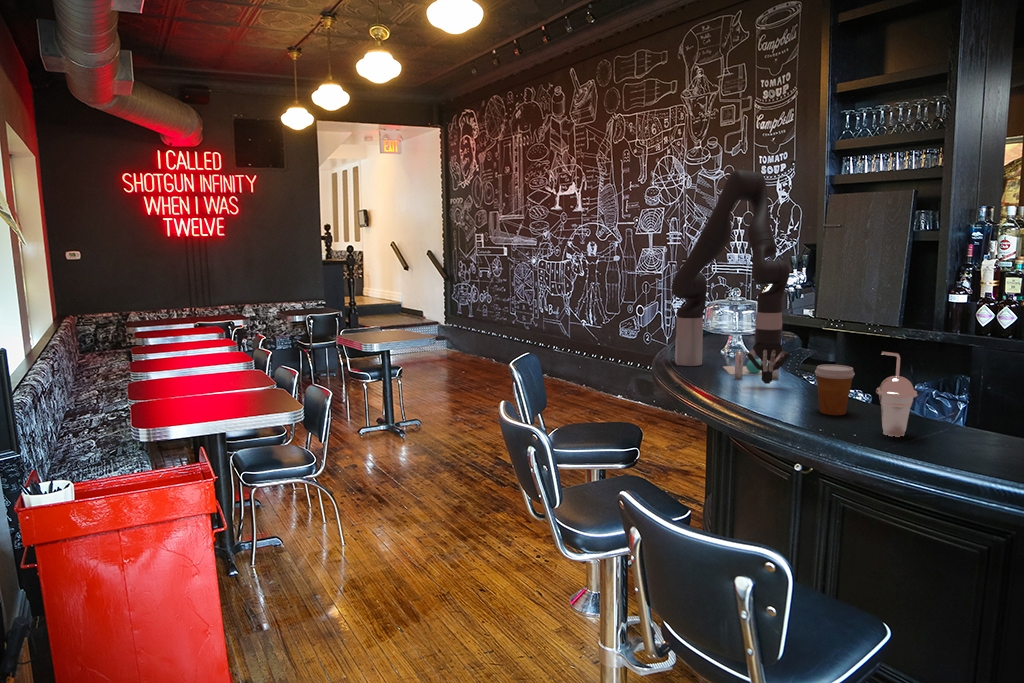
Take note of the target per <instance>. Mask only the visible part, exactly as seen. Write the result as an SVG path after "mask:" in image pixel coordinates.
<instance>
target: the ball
mask: <svg viewBox="0 0 1024 683" xmlns="http://www.w3.org/2000/svg"><path fill="white" fill-rule="evenodd" d="M755 360H756V361H757V362H758V364H759V365H761V360H760V359H757V358H755ZM745 366H746V367H747V370H748V371H749V372H750V373H754V374H755V373H759V372H760V371H761V370H758V369H757V368H756V367H755V366H754V365H753V363H752V362H751V361H750V360H749V359H748V361H747V362H746V365H745Z"/></svg>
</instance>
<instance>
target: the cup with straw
mask: <svg viewBox="0 0 1024 683" xmlns="http://www.w3.org/2000/svg"><path fill="white" fill-rule="evenodd" d="M879 354H880V355H885V356H889V357H890V356H891V357H893V356H894V357H896V367H895V375H891V376H888V377H886V378H885V379H884V380H883V381H882V382H881V384H880V386H879V387H877V388H876V390H875V393H876V394H877V395H878V396H879V403H880V408H881V409H880V410H881V412H880V413H881V425H882V426H881V427H882V430H883V432H882V434H883V435H885V436H887V435H888V437H893V436H895V438H901V437H900V436H903V437H905V436H906V435H905V432H906V430H907V427H908V421H909V417H910V416H909V415H910V412H911V411H910V410H911V407H912V405H913V402H914V398H916V397H918V391H917V390H916V389H914V386H913V383H912V382H911V381H910V380H909V379H907V378H905V377H904V376H900V371H901V370H900V369H901V356H900V354H899V353H898V352H889V351H881V350H880V351H879ZM904 435H905V436H904Z"/></svg>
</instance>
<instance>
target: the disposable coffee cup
mask: <svg viewBox="0 0 1024 683" xmlns="http://www.w3.org/2000/svg"><path fill="white" fill-rule="evenodd" d="M814 373H815V376H816V386H817V387H816V388H817V397H818V398H817V399H818V409H819V413H821V414H824V415H829V416H831V415H832V416H842V415H843V416H844V415H845V414H847V407H848V402H849V398H850V392H851V387H852V382H853V378H854V376H856V375H855V374H856V373H855V371H854V367H852V366H849V365H841V364H820V365H817V366H816V368H815V370H814Z"/></svg>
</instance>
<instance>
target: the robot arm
mask: <svg viewBox="0 0 1024 683" xmlns="http://www.w3.org/2000/svg"><path fill="white" fill-rule="evenodd" d="M738 201H745V202H749V203H750V204H751V207H752V210H753V212H752V213H753V215H752V217H751V220H750V223H749V225H748V231H747V237H748V241H749V245H750V249H751V253H752V255H751V256H752V264H751V265H752V266H751V277H752V279H753V281H754V282H755V283H756V284H758V285H771V287H770V289H768V290H767V291H763V292H760V293H759V294H758V295H757V300H756V301H757V302H756V316H755V329H754V330H755V331H754V333H755V334H754V345H753V347H752V349H751V350H750V351H749V352H746V353H745V356H746V358H748V361H749V360H750V361H751V362H752V363H753V365H754V366H755V367H756V368H757V369H758V370H761V371H762V375H761V378H760V379H761V381H762V382H763V384H768V385H769V384H771V382H772V381H773V380H772V372H773V371H774V370H778V369H779V370H780V368H781V367H782V365H784V364H785V363H786V362H787V360H789V358H790V357H791V356H790V354H789V353H788V352H786V351H785V350H783V349H784V347H783V346H782V340H783V339H782V336H783V315H782V314H783V313H782V311H783V297H784V294H785V291H786V287H787V285H788V281H789V278H790V273H791V272H790V271H791V270H790V266H789V264H788V263H787V261H785V260H782V259H776V260H775V259H774V260H773V259H772V260H771V259H770V260H766V259H768V258H770V257H772V256H774V255H775V254H776V253H777V248H778V247H777V244H776V240H775V237H774V234H773V230H772V225H771V221H770V210H769V209H770V208H769V199H768V187H767V181H766V179H765V176H764V175H763V174H762V173H760V172H758V171H753V170H747V169H746V170H745V169H735V170H733V171H732V172H731V173H730V174H729V175H728V177H727V179H726V181H725V182H724V185H723V187H722V190H721V192H720V195H719V197H718V200H717V202H716V204H715V207H714V208H713V210H712V213H711V214H710V217H709V218H708V220H707V222H706V223H705V225H704V227H703V228H702V230H701V233H700V235H699V236H698V238H697V240H696V242H695V244H694V246H693V248H692V249H691V251H690V253H689V255H688V256H687V258H686V259H685V261H684V263H683V264H682V265H681V267H680V268H679V269H678V271H677V272H676V274H675V276H674V278H673V280H672V284H671V292H672V294H673V296H674V297H676V298H678V299H686V302H685V304H683V305H682V306H680V307H678V308H677V310H676V332H675V333H676V334H675V335H676V336H675V341H674V342H675V345H674V346H675V347H674V348H675V349H674V350H675V351H674V363H675V364H676V366H682V367H683V366H685V367H697V366H702V364H703V339H704V338H703V337H704V336H703V334H704V332H703V330H704V312H705V310H706V305H707V304H706V303H707V290H708V289H707V288H708V287H707V286H708V284H707V279H706V277H705V275H704V274H703V273H702V272H701V271H702V270H703V269H704V268H705V267H706V266H708V265H709V264H710V263H712V262H713V261H714V260H715V259H717V258H718V257H719V256H720V255H721V254H722V253H723V251H724V249H725V248H726V246H727V245H728V243H729V241H730V239H731V236H732V222H731V212H732V210H733V208H734V206H735V204H736V203H737V202H738ZM755 354H756V355H755ZM779 354H780V358H779V359H778V361H777V362H776V363H775V364H774V361H775V359H776V358H777V357H778V356H779ZM756 356H757V357H758V358H759V360H760V362H761V365H759V364H758V362H757V361H756V360H755V359H756Z"/></svg>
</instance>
